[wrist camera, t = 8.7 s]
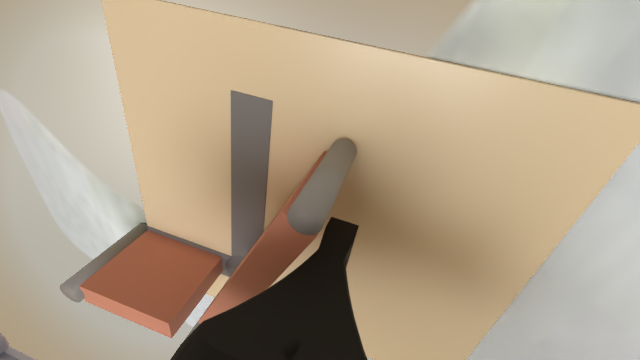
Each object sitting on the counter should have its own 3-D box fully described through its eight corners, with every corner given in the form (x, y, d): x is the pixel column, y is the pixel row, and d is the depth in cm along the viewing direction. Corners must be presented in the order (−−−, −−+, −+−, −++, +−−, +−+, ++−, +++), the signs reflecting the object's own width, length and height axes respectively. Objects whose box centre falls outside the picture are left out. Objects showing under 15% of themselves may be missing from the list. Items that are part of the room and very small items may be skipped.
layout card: (658, 107, 9) (665, 110, 8) (443, 381, 18) (443, 387, 17) (106, -12, 12) (97, -12, 12) (160, 271, 21) (156, 275, 21)
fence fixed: (258, 265, 17) (206, 345, 13) (257, 278, 18) (208, 359, 14) (136, 221, 19) (56, 281, 15) (139, 235, 19) (64, 296, 15)
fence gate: (338, 131, 11) (295, 195, 8) (364, 150, 11) (333, 222, 8) (246, 254, 16) (193, 328, 13) (264, 267, 17) (217, 344, 13)
